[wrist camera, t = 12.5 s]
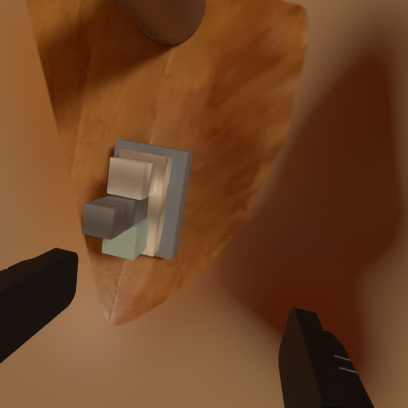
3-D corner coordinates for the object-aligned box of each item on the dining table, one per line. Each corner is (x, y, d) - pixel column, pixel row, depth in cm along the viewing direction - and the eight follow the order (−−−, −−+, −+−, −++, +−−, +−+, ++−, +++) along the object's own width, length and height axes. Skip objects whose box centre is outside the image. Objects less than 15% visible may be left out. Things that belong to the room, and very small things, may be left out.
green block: (120, 212, 34) (104, 220, 30) (150, 219, 34) (137, 227, 30) (117, 241, 35) (101, 252, 31) (146, 248, 34) (133, 260, 31)
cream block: (126, 157, 33) (110, 157, 29) (157, 162, 32) (144, 164, 28) (123, 188, 33) (106, 193, 30) (153, 194, 33) (140, 200, 29)
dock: (125, 139, 38) (115, 138, 35) (193, 152, 37) (188, 152, 34) (115, 237, 41) (105, 244, 38) (176, 252, 40) (171, 259, 37)
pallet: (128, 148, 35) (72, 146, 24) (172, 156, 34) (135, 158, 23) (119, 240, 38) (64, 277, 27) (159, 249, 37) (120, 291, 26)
